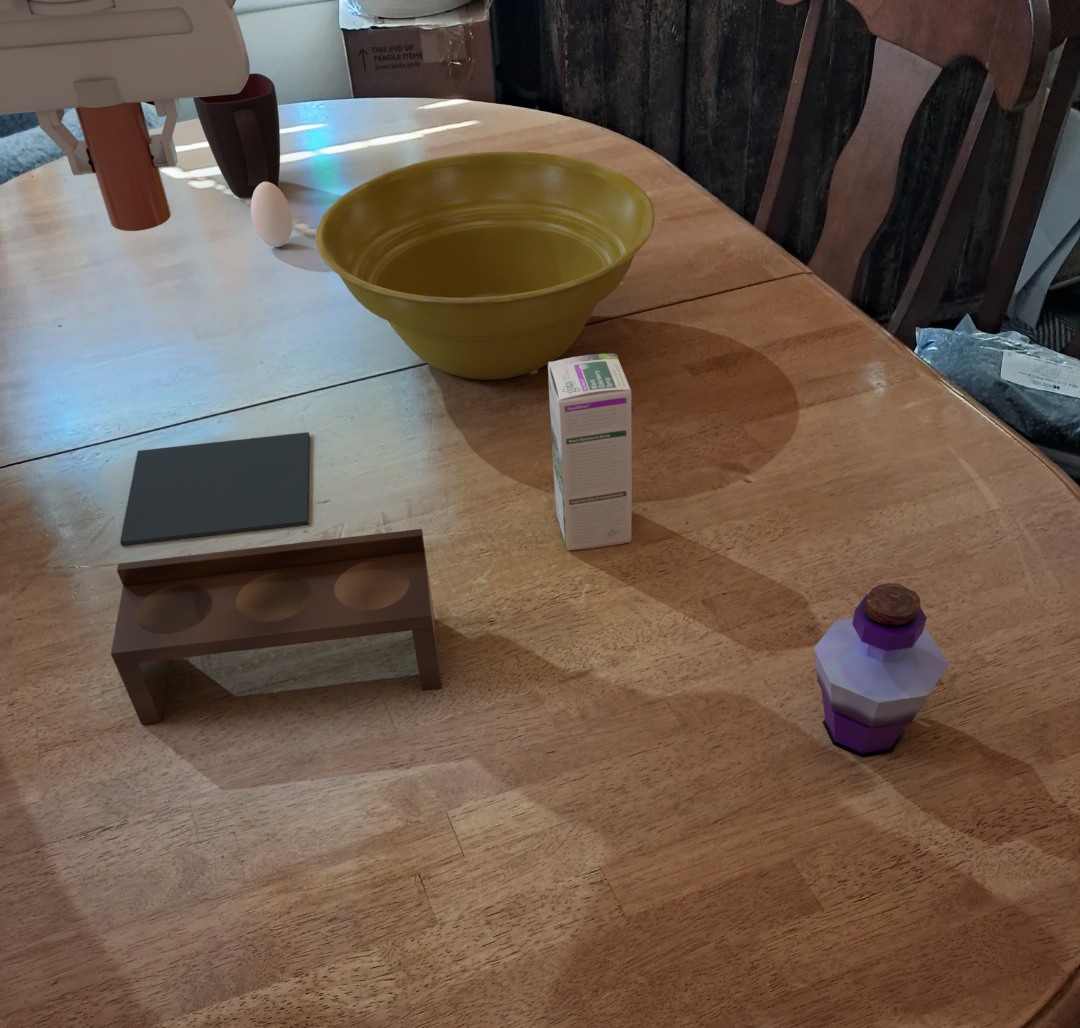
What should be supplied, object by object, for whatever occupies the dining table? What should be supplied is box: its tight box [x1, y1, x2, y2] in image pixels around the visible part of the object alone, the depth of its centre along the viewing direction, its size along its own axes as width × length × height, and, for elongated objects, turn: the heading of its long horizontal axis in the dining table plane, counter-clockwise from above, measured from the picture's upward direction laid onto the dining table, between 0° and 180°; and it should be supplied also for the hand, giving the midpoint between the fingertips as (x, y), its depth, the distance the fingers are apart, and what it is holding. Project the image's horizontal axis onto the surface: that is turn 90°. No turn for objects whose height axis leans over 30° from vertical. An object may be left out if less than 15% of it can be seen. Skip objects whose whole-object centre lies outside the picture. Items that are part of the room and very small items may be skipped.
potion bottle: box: [813, 582, 949, 758], centre depth 76 cm, size 9×9×12 cm
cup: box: [192, 73, 281, 199], centre depth 144 cm, size 10×14×12 cm
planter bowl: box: [315, 151, 656, 381], centre depth 114 cm, size 32×32×13 cm
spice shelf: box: [110, 528, 443, 726], centre depth 84 cm, size 22×8×9 cm, turn 98°
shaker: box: [73, 78, 172, 232], centre depth 82 cm, size 5×5×10 cm
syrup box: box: [547, 352, 633, 551], centre depth 92 cm, size 6×6×14 cm
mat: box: [119, 431, 310, 546], centre depth 104 cm, size 16×14×1 cm
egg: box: [250, 182, 294, 248], centre depth 135 cm, size 5×5×7 cm
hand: (125, 168), depth 83 cm, fingers closed on shaker, 4 cm apart
